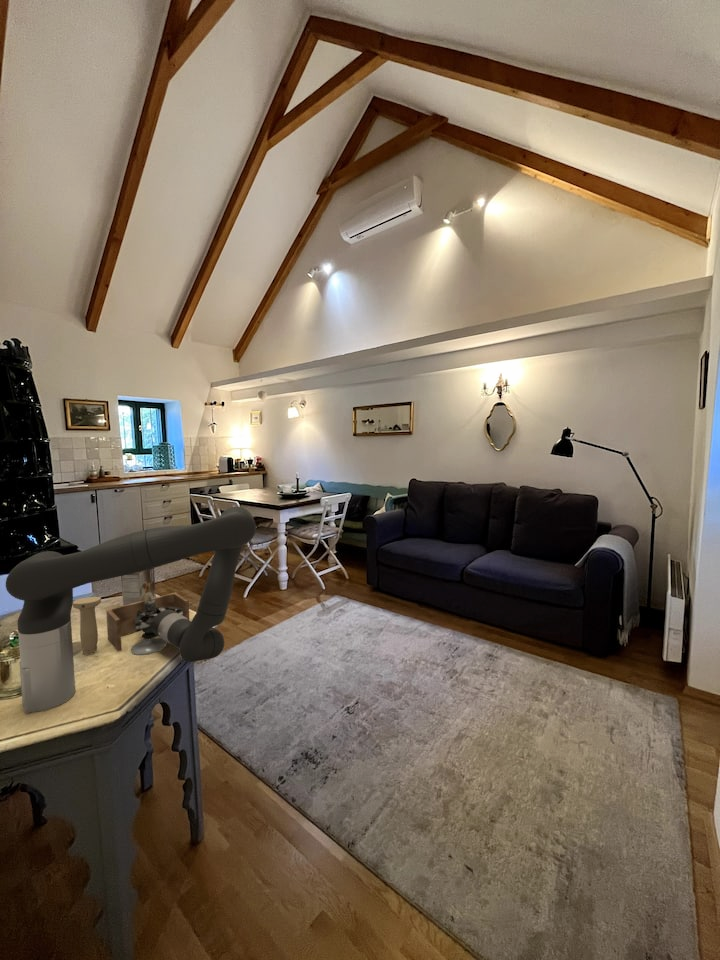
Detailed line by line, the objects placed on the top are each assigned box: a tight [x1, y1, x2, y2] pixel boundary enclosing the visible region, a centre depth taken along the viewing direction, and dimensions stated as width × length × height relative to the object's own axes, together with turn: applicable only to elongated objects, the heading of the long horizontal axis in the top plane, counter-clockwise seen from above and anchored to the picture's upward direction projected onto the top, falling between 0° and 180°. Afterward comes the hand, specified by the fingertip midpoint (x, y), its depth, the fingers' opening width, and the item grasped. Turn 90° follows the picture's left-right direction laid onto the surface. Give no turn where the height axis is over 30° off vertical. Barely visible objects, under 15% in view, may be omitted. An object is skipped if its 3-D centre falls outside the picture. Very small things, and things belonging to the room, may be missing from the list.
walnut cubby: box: [105, 591, 190, 652], centre depth 120 cm, size 20×10×9 cm, turn 135°
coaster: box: [130, 637, 167, 656], centre depth 112 cm, size 9×9×1 cm
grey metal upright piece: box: [141, 597, 158, 640], centre depth 119 cm, size 6×6×12 cm
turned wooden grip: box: [72, 596, 102, 656], centre depth 108 cm, size 5×6×15 cm
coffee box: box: [120, 568, 157, 606], centre depth 134 cm, size 9×6×16 cm
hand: (146, 611), depth 121 cm, fingers closed on grey metal upright piece, 3 cm apart
